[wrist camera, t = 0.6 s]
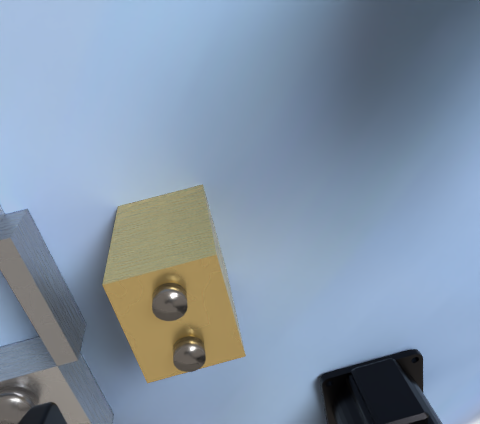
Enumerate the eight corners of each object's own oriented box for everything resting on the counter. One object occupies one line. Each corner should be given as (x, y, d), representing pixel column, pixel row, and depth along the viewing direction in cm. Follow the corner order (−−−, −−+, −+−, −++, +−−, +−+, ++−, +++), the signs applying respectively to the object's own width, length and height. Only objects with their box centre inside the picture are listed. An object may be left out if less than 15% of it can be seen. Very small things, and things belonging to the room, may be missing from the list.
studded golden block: (226, 269, 23) (248, 367, 17) (150, 289, 23) (146, 395, 17) (202, 184, 20) (218, 264, 15) (118, 206, 20) (100, 296, 14)
